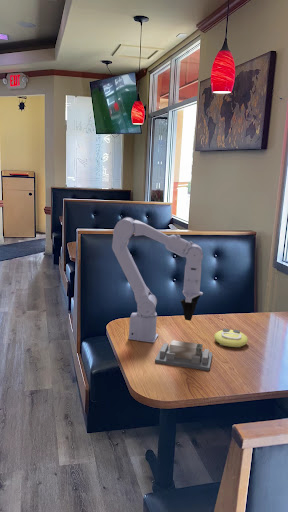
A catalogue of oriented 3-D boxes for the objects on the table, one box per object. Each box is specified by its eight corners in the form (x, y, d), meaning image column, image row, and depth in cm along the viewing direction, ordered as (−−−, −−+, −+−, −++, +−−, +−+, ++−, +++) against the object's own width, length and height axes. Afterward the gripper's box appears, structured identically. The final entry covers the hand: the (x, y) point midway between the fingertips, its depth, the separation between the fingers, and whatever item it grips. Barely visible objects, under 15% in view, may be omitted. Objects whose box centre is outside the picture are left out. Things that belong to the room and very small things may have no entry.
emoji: (249, 342, 144) (247, 328, 156) (213, 338, 147) (215, 324, 158) (248, 352, 145) (246, 337, 157) (213, 348, 148) (214, 334, 159)
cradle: (154, 362, 132) (155, 353, 132) (162, 348, 144) (162, 339, 143) (209, 370, 129) (209, 361, 128) (212, 355, 140) (212, 346, 139)
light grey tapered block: (169, 356, 135) (169, 344, 134) (171, 351, 139) (172, 340, 138) (200, 360, 133) (201, 349, 132) (201, 355, 137) (202, 344, 136)
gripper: (201, 285, 139) (198, 324, 141) (205, 276, 153) (202, 311, 155) (180, 283, 140) (177, 321, 143) (186, 274, 154) (183, 309, 157)
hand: (189, 316), depth 149 cm, fingers open, 7 cm apart
